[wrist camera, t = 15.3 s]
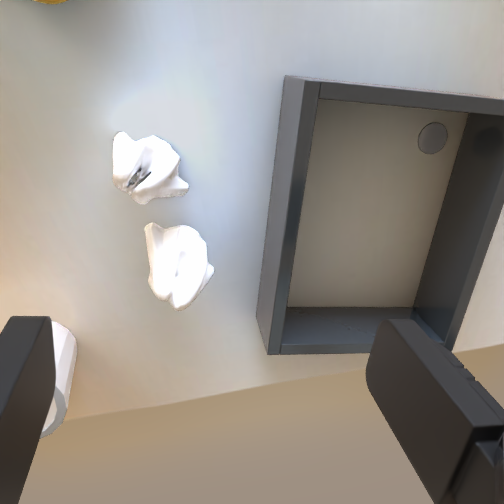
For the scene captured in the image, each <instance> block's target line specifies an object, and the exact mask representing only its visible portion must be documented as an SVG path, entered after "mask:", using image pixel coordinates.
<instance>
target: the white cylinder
mask: <svg viewBox="0 0 504 504" xmlns="http://www.w3.org/2000/svg"><path fill="white" fill-rule="evenodd" d="M51 322H52V330H53V342H54V353H55V365H56V384H55V391H54V396H53V400H52V403H51V406H50V409H49V412H48V415H47V418H46V421H45V424H44V427H43V430H42V433H41V436H40V439H41V438H43V437H45V436H47V435H50V434H52V433H53V432H54V430H56V429H57V428H58V427H59V426H60V425H61V424H62V423H63V420H64V417H65V414H66V411H67V407H68V401H69V395H70V390H71V384H72V379H73V373H74V368H75V362H76V357H77V351H78V348H77V343H76V339H75V337H74V336H73V335H72V333H71V332H70V331H69V329H67V328H65V327H64V326H62V325H61V324H59V323H57V322H54V321H51Z"/></svg>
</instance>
